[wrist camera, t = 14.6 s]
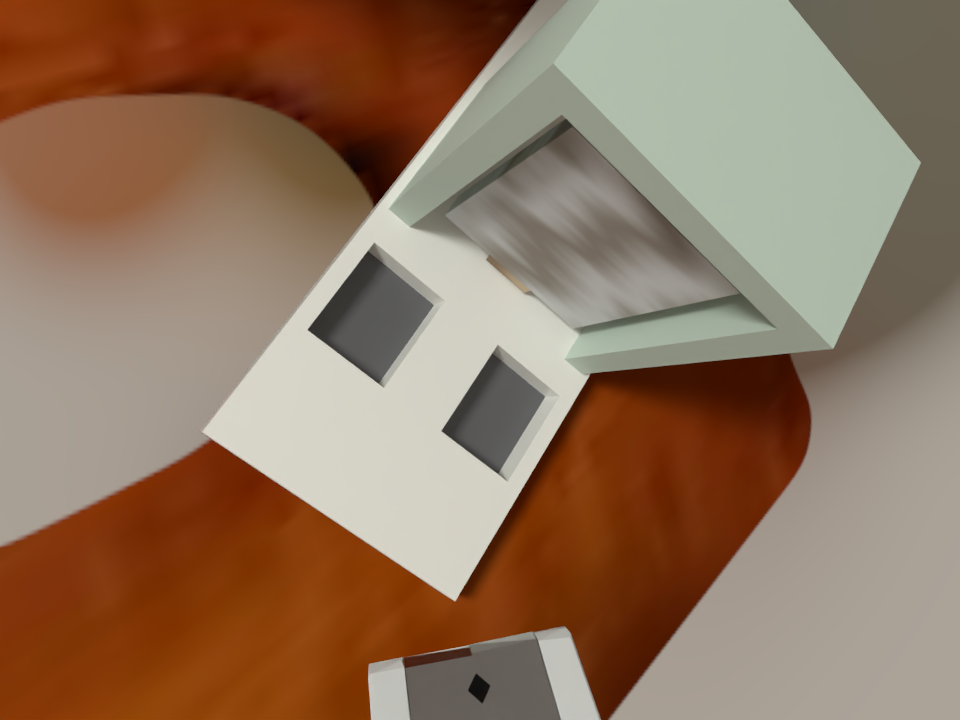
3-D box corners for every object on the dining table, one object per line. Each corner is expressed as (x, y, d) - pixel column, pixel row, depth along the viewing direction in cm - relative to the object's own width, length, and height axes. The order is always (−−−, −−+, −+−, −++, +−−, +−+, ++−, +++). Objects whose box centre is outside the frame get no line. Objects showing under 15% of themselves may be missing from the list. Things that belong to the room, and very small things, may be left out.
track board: (199, 431, 36) (202, 431, 34) (553, -22, 47) (569, -40, 45) (441, 593, 40) (455, 601, 39) (711, 146, 51) (731, 136, 50)
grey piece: (439, 219, 39) (572, 127, 27) (615, -20, 46) (789, -184, 33) (566, 329, 42) (740, 293, 30) (715, 90, 49) (909, -22, 36)
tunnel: (388, 208, 39) (553, 63, 23) (484, 84, 42) (689, -121, 26) (581, 374, 43) (833, 348, 27) (656, 250, 46) (921, 162, 30)
